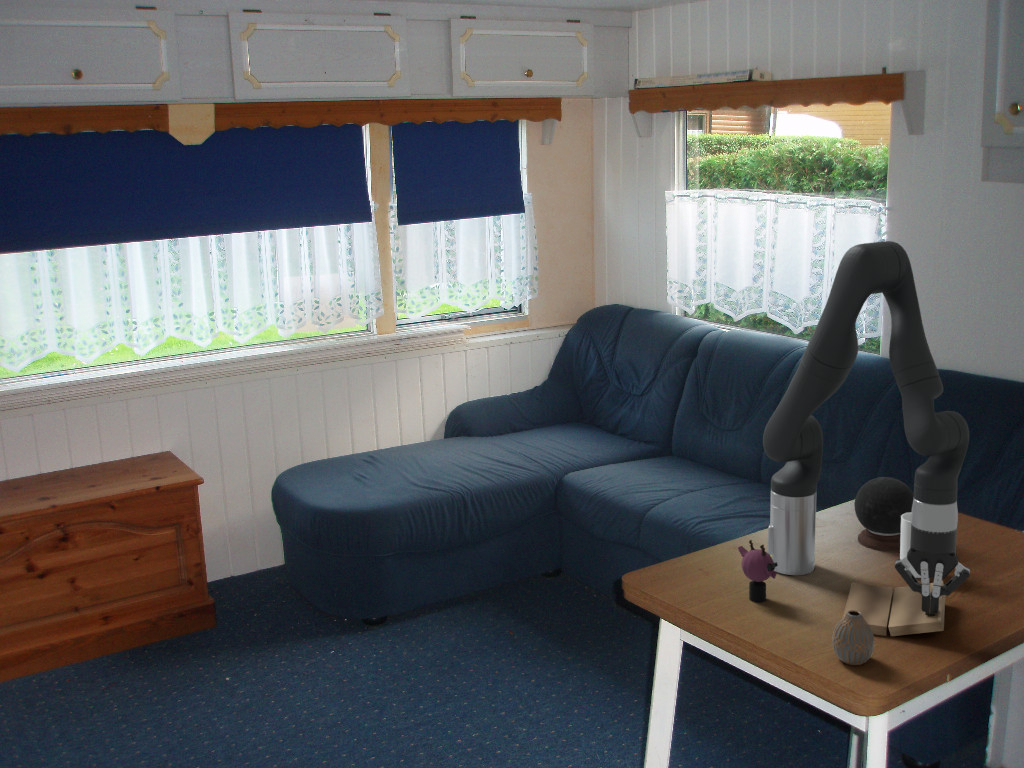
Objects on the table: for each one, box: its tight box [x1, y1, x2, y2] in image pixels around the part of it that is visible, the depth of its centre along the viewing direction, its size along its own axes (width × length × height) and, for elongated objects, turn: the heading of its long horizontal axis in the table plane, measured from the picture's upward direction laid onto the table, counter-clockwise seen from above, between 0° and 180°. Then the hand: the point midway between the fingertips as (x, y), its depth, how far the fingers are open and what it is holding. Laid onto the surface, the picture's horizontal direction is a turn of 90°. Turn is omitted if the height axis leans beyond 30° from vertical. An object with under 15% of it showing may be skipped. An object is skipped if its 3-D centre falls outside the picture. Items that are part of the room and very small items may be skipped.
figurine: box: [737, 539, 778, 603], centre depth 196 cm, size 8×8×12 cm
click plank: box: [887, 579, 946, 637], centre depth 186 cm, size 9×18×2 cm, turn 155°
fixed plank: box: [842, 582, 894, 637], centre depth 189 cm, size 8×18×2 cm, turn 156°
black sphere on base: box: [854, 476, 914, 552], centre depth 222 cm, size 13×13×15 cm
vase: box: [831, 610, 876, 666], centre depth 171 cm, size 7×7×9 cm
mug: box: [899, 512, 921, 579], centre depth 206 cm, size 10×7×12 cm, turn 132°
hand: (929, 613), depth 179 cm, fingers closed
